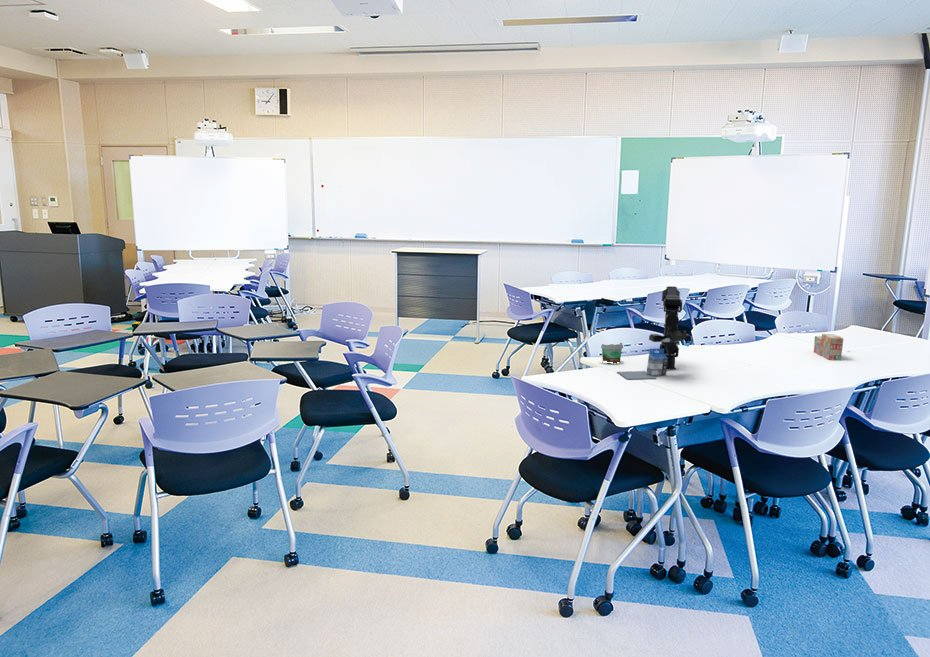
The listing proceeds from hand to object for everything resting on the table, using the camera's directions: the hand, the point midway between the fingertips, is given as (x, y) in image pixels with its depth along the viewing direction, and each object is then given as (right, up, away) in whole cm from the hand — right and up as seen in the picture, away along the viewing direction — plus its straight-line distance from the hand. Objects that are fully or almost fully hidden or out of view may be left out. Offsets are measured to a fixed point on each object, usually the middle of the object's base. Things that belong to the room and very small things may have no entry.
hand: (669, 355), depth 305 cm
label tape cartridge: (-6, -9, +1) cm, 11 cm away
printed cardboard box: (+101, -3, +46) cm, 111 cm away
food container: (-20, -5, +26) cm, 34 cm away
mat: (-16, -10, 0) cm, 18 cm away
